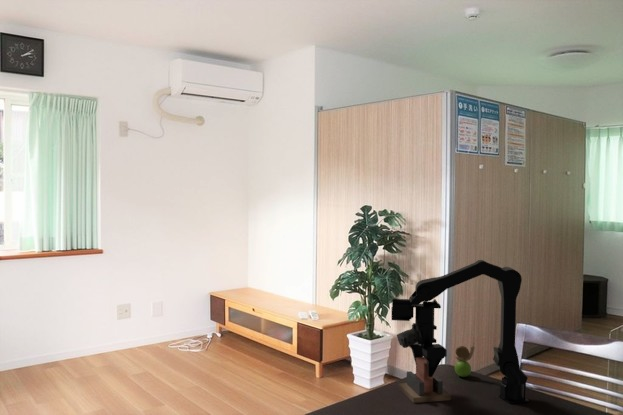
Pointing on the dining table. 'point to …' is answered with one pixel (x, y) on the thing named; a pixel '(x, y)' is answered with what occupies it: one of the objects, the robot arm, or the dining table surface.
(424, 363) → the reddish brown block
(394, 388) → the dining table surface
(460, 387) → the dining table surface
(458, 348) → the snail figurine
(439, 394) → the bookend shelf
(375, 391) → the dining table surface
